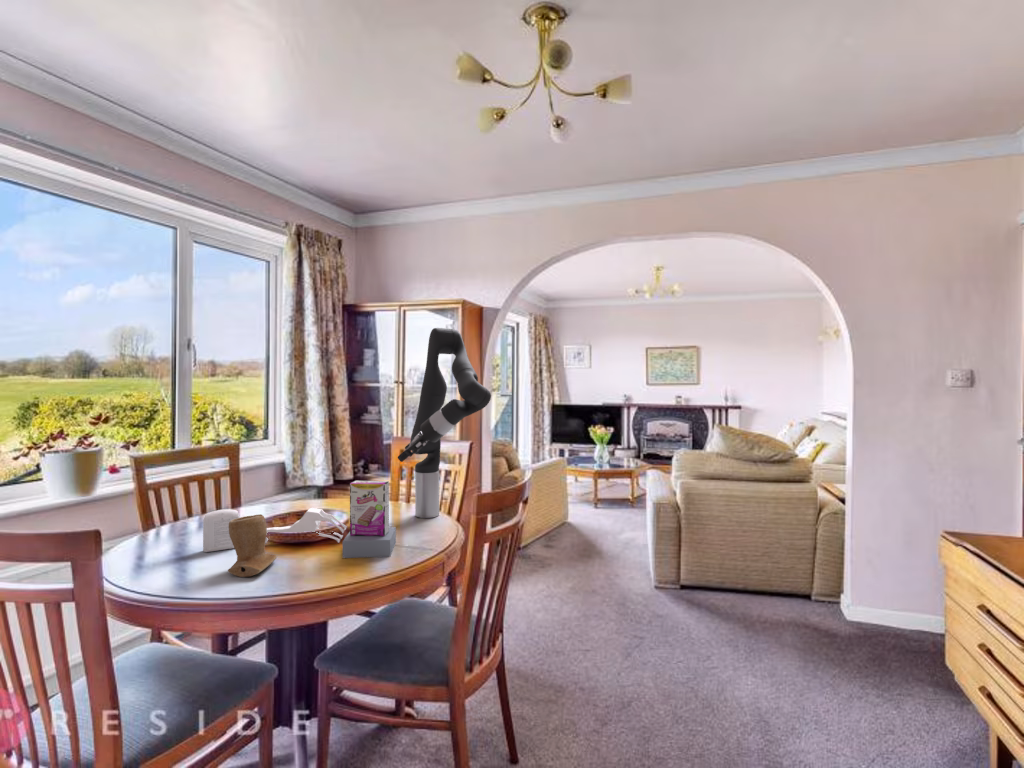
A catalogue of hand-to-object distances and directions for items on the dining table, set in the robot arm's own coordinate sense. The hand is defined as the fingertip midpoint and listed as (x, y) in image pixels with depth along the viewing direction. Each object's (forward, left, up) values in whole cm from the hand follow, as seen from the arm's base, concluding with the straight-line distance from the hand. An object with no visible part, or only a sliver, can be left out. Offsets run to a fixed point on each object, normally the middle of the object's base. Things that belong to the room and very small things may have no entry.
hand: (403, 454), depth 181 cm
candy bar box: (+11, -9, -23) cm, 27 cm away
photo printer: (+5, -56, -28) cm, 63 cm away
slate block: (+11, -9, -28) cm, 31 cm away
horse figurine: (0, -33, -29) cm, 43 cm away
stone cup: (+25, -40, -28) cm, 55 cm away
